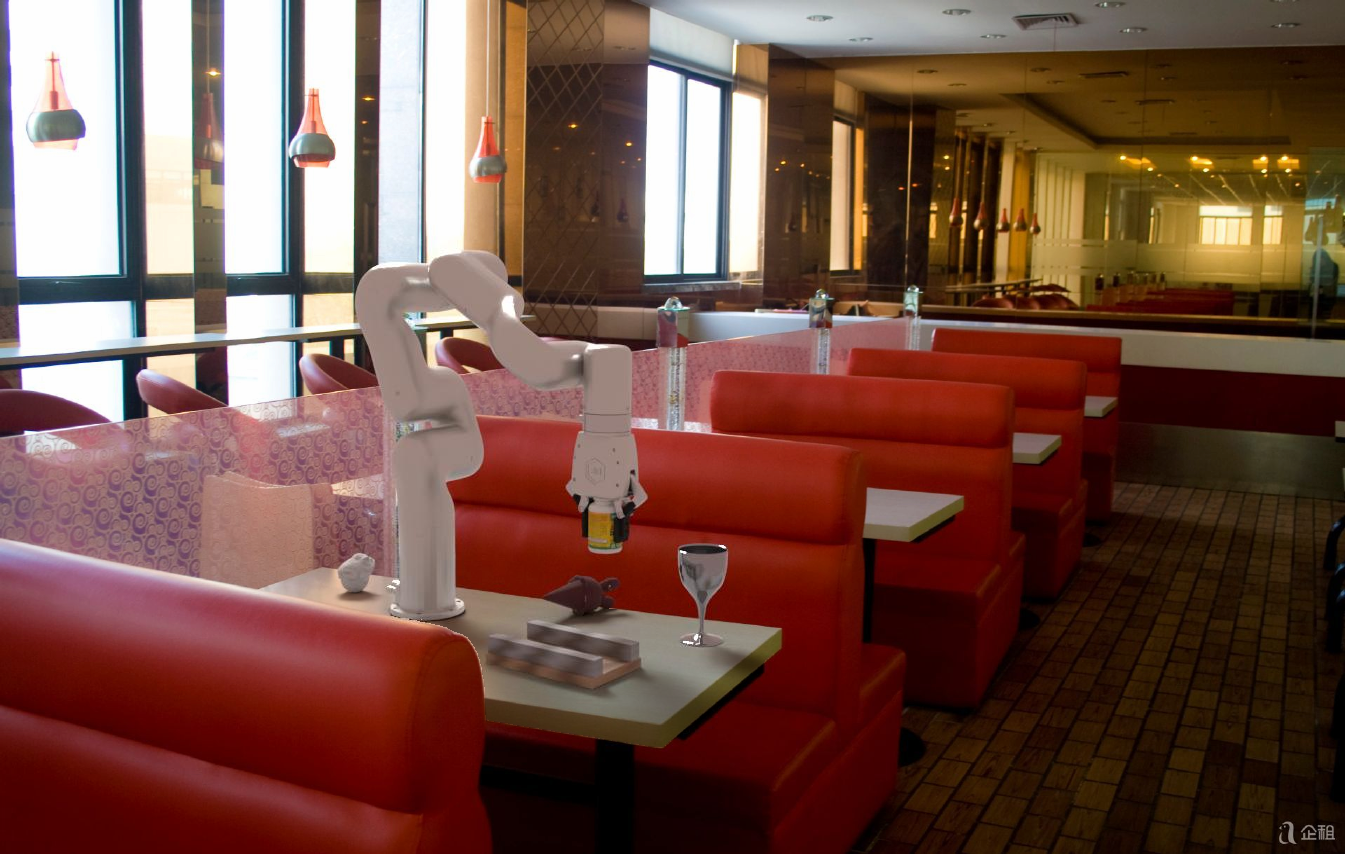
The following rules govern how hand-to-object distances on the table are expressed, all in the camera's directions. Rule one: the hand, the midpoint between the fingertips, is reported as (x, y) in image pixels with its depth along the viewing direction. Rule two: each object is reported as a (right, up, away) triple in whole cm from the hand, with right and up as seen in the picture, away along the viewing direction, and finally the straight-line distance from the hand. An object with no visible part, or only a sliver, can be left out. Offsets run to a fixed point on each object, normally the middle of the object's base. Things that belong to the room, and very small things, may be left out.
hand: (605, 537), depth 188 cm
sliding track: (-6, -18, -8) cm, 21 cm away
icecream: (-5, -15, +20) cm, 25 cm away
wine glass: (+15, -17, +5) cm, 23 cm away
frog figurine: (-47, -13, +32) cm, 59 cm away
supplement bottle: (0, -2, 0) cm, 2 cm away
